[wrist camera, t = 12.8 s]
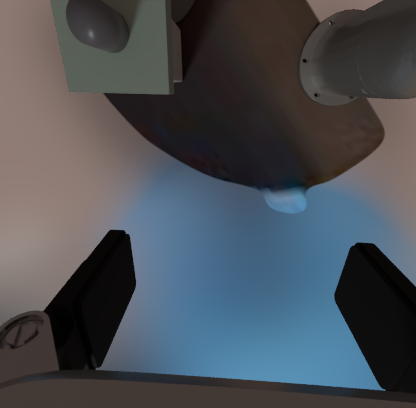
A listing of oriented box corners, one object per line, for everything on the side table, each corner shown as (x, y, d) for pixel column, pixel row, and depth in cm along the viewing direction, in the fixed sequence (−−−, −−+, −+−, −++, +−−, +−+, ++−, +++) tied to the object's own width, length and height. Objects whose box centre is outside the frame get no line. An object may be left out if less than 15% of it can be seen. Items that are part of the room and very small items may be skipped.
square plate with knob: (169, -30, 21) (149, -76, 15) (174, 93, 25) (159, 95, 19) (60, -30, 21) (-2, -75, 16) (83, 91, 26) (41, 92, 20)
